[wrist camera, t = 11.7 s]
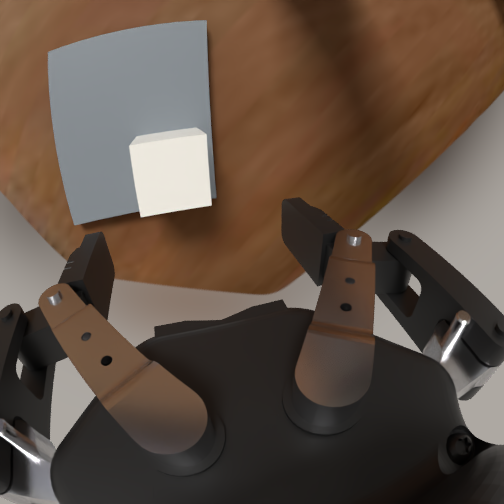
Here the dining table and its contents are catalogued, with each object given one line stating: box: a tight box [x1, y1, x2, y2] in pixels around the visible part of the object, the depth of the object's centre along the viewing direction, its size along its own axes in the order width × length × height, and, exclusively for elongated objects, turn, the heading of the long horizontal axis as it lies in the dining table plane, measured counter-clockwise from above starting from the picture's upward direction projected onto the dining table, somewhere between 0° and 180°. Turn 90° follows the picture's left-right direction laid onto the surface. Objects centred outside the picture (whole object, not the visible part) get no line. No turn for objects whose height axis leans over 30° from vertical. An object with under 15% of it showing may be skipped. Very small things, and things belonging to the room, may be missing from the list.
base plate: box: [48, 20, 216, 225], centre depth 22 cm, size 15×18×2 cm
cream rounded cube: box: [129, 128, 212, 217], centre depth 22 cm, size 6×6×6 cm
